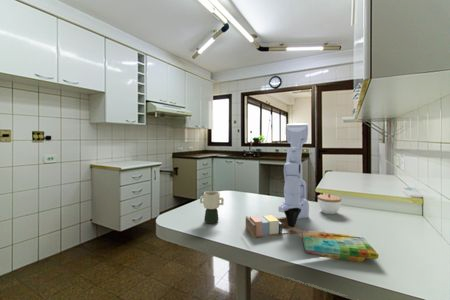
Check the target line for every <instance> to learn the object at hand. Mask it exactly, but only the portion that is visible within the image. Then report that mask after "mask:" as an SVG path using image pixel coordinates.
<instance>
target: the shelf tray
mask: <svg viewBox="0 0 450 300" xmlns="http://www.w3.org/2000/svg"><path fill="white" fill-rule="evenodd" d="M275 218H276V219H278V220H279V222H281V223H282V228H284V229H285V230H286V231H287V232H289V234H270V235H268V236H258V237H256V224H255V223H254V222H253V221H252V220H251V219H250V216H245V230H246V231H247V232H248V234H249V235H250V236H251V237H252V239H260V238H269V237H270V238H271V237H279V236H289V235H291V236H292V235H299V234H302V229H300V227H298V226H297V225H295V227H290V226H288V221H287V218H286V216H285V217H284V216H282V217H275Z"/></svg>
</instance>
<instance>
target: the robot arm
mask: <svg viewBox="0 0 450 300" xmlns="http://www.w3.org/2000/svg"><path fill="white" fill-rule="evenodd" d="M285 136H286V137H285V138H286V142H287V143H289V144H290V148H288V149H287V153H286V160H285V163H284V165H283V176H284V179H283V180H284V186H283V196H284V200H283V201H282V204H281V205H279V206H278V208H277V210H278V212H281V213H283V214H284V215H285V217H286V218H287V221H288V226H290V227H295V226H296V225H297V224H296V223H297V221H298V220H300V219H304V218H309V217H310V216H309V214H310V213H309V212H310V205H309V201H308V199H307V183H306V181H305V180H304V179H302V174H303V172H302V171H303V165H302V153H303V151H302V148H303V145H304V144H306V143H307V142H308V138H309V137H308V136H309V124H308V123H307V122H306V123H287V124H286V126H285Z"/></svg>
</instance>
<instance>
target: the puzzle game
mask: <svg viewBox="0 0 450 300" xmlns="http://www.w3.org/2000/svg"><path fill="white" fill-rule="evenodd" d="M301 230H302V229H301ZM301 238H302V242H303V246H304V249H305V251H306V253H307V254H308V255H309V254H310V255H316V256H321V258H326V259H327V258H328V259H335V260H343V261H351V262H358V263H359V262H360V263H362V262H364V261H365V259H369V260H370V259H372V260H377V259H379V253H377V251H376V250H375V249H374V247H372V245H371V244H370V243H369V241H368V240H367V239H366V238H365V237H364V236H359V235H350V234H342V233H333V232H332V233H331V232H326V231H315V230H305V229H303V230H302V233H301Z"/></svg>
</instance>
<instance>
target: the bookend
mask: <svg viewBox="0 0 450 300" xmlns="http://www.w3.org/2000/svg"><path fill="white" fill-rule="evenodd" d="M279 234H289V232H287V231H286V230H285V229H284V228H282V223H281V222H279Z"/></svg>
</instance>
